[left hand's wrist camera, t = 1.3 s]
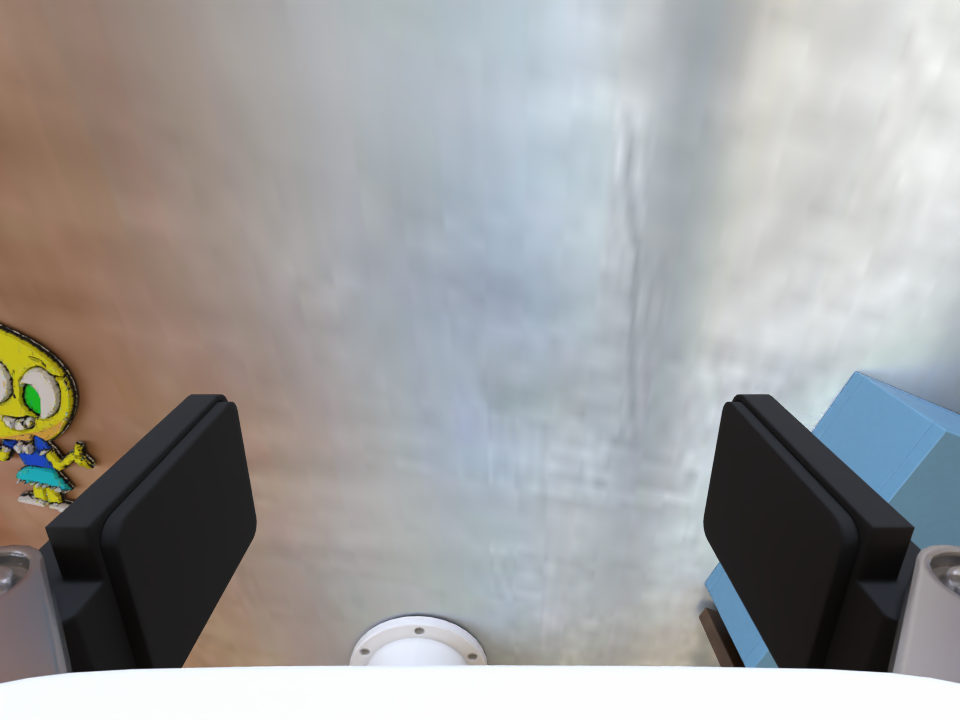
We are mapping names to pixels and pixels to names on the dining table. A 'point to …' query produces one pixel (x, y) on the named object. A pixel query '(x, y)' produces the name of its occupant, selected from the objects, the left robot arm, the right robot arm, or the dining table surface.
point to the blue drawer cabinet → (875, 479)
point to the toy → (37, 418)
